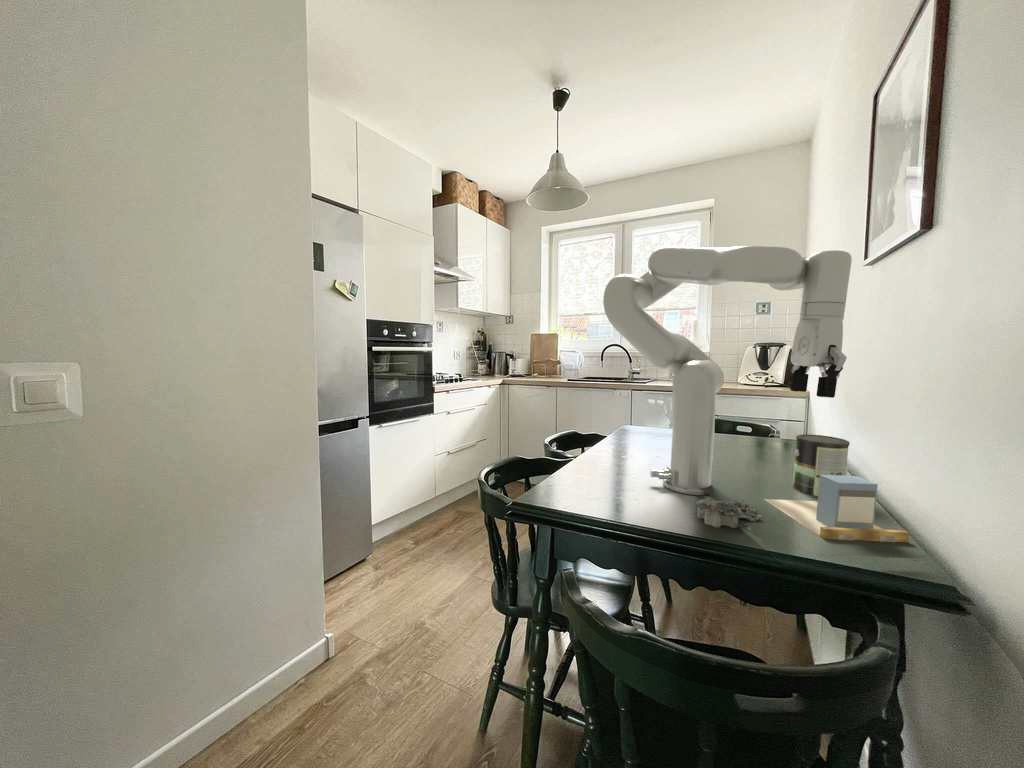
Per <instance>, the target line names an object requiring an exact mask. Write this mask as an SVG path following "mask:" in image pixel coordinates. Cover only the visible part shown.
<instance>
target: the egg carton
mask: <svg viewBox="0 0 1024 768" xmlns="http://www.w3.org/2000/svg"><path fill="white" fill-rule="evenodd" d="M695 505H697V517H698V518H699V519H702V520H703V519H704V524H705V525H707V526H712V527H714V528H721V526H728V527H730V528H732V529H734V528H738V527H741V526H742V527H745V528H746V527H747V528H750V527H749V526H748V525H747V524H745V522H743V521H742V520H740V519H743V520H744V519H745V520H749V521H751V522H756V521H758V520H759V518H762V517H763V515H762V514H759V511H758V510H757V509H755V507H753V506H752V505H751V504H749V502H747V500H746V499H741V500H735V501H734V500H729V501H728V500H726V499H723V500H710V499H706V498H701V499H700V500H698V501H696V502H695ZM742 510H743V511H745V514H743V511H742Z"/></svg>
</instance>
